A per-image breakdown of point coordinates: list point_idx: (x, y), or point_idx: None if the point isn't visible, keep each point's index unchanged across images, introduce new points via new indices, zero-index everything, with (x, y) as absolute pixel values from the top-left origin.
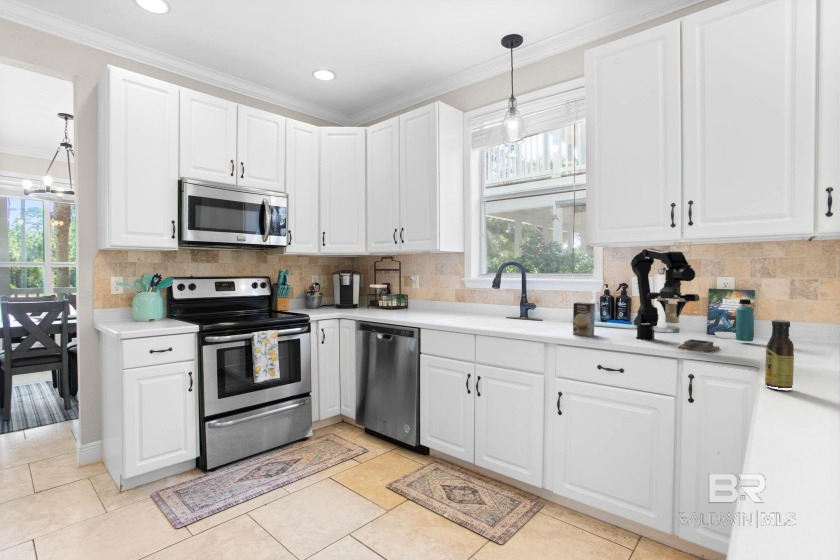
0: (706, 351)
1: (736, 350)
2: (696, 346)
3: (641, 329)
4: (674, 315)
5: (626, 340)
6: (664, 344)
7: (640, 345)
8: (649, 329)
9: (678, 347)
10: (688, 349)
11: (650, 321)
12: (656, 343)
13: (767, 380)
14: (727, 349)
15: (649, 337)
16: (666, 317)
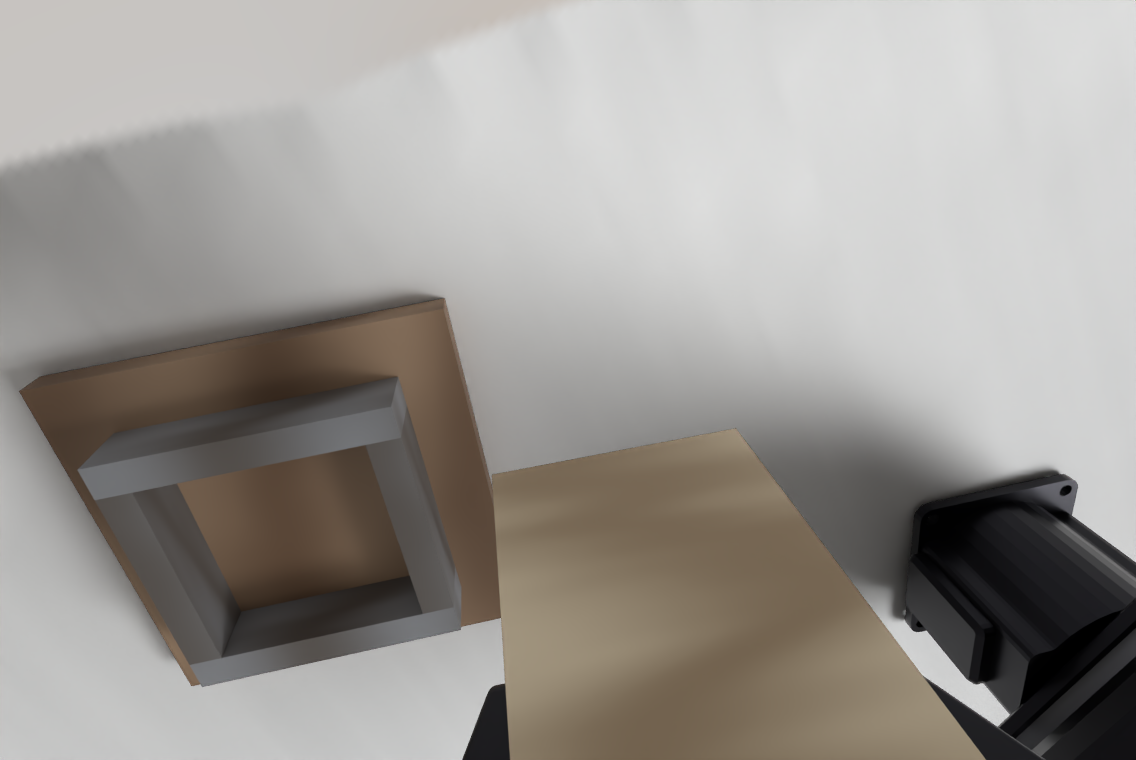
0: (90, 369)
1: (66, 723)
2: (242, 414)
3: (1105, 572)
4: (537, 628)
5: (1128, 275)
6: (694, 420)
7: (880, 65)
8: (1016, 620)
9: (440, 303)
10: (314, 324)
11: (1102, 706)
12: (786, 400)
13: None
14: (146, 700)
15: (942, 548)
16: (764, 513)
